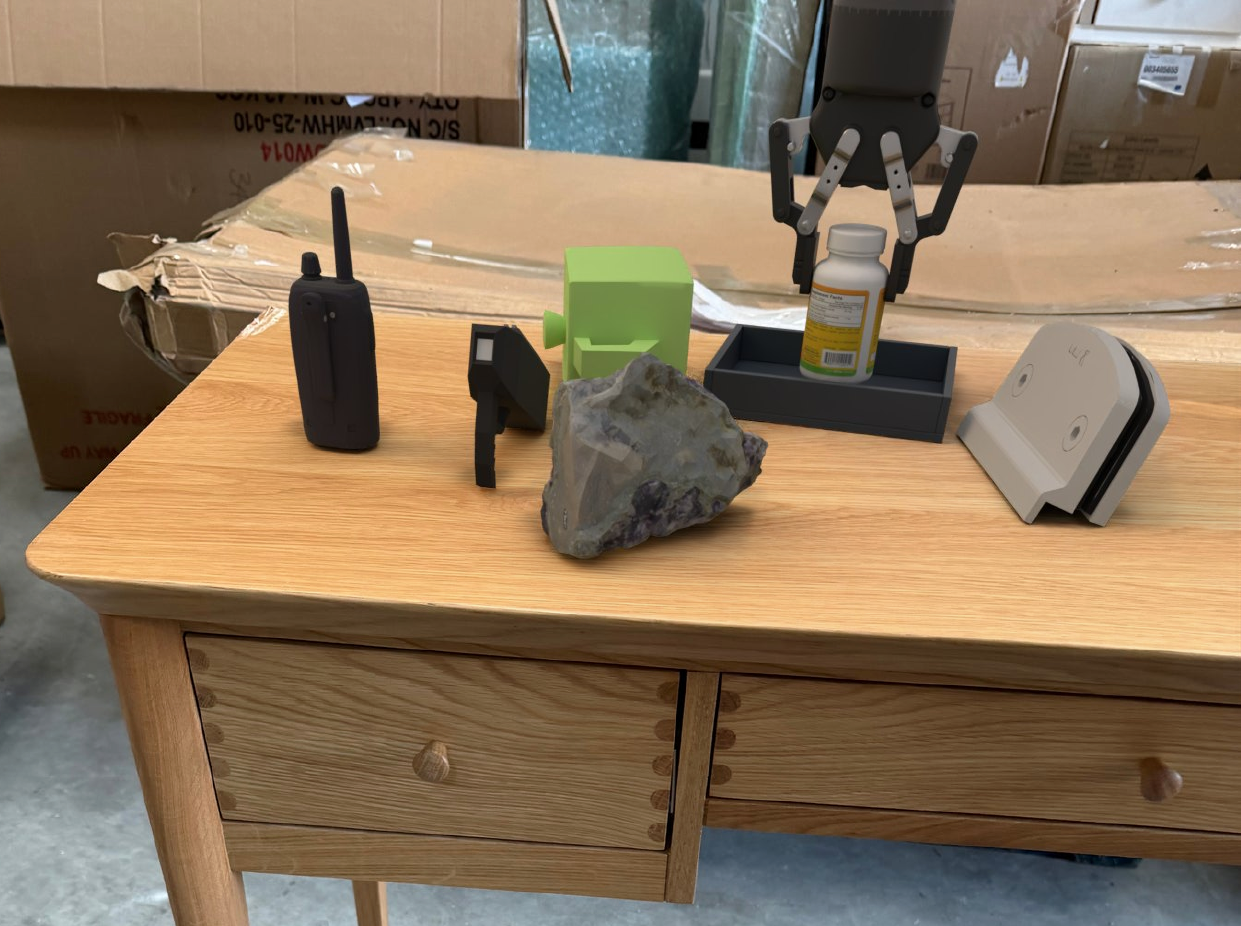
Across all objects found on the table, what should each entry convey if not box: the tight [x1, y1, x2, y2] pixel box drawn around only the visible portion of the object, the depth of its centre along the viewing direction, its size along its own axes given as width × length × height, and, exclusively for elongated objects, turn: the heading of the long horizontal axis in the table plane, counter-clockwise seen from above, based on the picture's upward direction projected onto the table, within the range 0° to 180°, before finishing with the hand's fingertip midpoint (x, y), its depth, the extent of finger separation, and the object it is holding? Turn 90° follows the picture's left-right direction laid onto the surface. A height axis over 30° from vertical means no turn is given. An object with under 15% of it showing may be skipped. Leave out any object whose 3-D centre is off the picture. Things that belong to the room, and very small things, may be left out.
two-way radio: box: [287, 185, 381, 452], centre depth 73 cm, size 6×4×15 cm
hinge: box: [955, 320, 1172, 527], centre depth 75 cm, size 17×5×10 cm, turn 0°
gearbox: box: [542, 245, 695, 382], centre depth 85 cm, size 18×10×10 cm, turn 2°
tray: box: [702, 323, 959, 444], centre depth 87 cm, size 17×13×3 cm
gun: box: [467, 323, 551, 490], centre depth 76 cm, size 3×16×10 cm, turn 170°
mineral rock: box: [539, 352, 769, 560], centre depth 65 cm, size 13×11×10 cm
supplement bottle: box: [800, 222, 890, 384], centre depth 84 cm, size 5×5×10 cm
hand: (847, 294), depth 84 cm, fingers closed on supplement bottle, 5 cm apart
